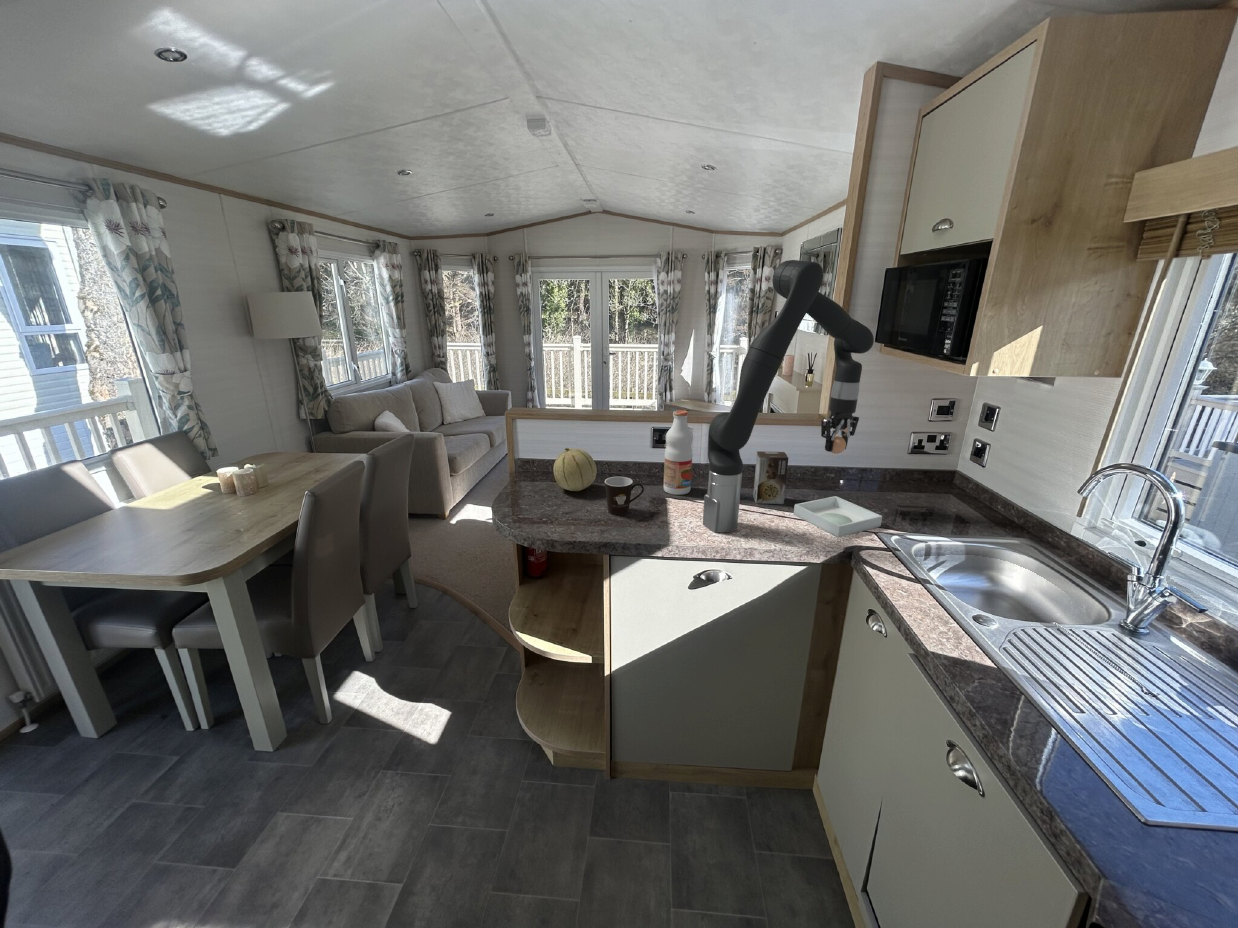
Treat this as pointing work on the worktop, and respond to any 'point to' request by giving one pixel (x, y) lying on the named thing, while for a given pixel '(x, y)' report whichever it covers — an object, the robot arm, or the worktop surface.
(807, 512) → the tray
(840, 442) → the terracotta ball
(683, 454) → the fruit juice
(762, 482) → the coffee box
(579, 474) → the cantaloupe
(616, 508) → the coffee mug
